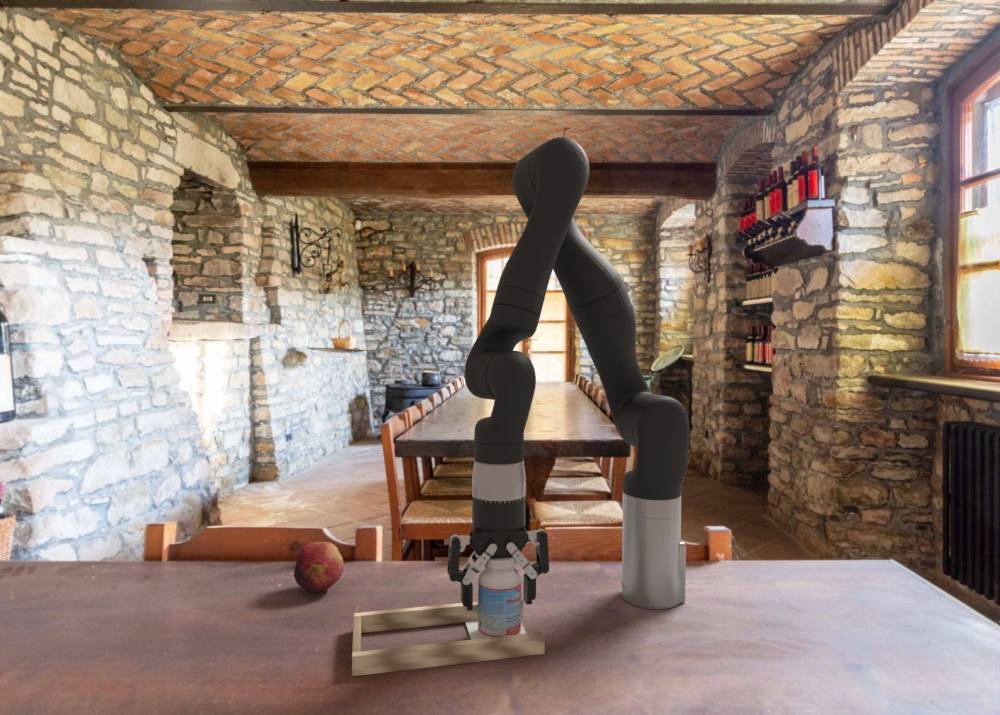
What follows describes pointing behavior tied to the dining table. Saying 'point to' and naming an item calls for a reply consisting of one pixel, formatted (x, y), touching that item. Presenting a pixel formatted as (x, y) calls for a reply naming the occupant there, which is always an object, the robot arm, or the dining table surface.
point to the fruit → (318, 566)
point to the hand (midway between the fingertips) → (498, 605)
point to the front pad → (473, 629)
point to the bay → (439, 651)
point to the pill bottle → (499, 599)
